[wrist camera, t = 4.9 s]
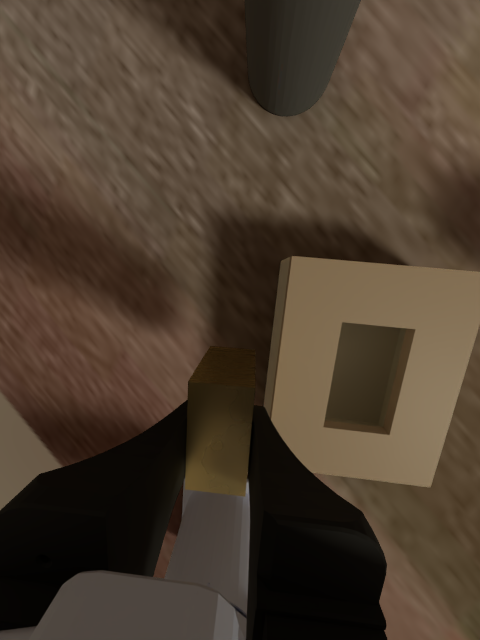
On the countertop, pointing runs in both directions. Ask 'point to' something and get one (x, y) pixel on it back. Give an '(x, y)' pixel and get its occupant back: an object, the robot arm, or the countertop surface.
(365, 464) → the cream box with slot
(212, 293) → the countertop surface
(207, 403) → the block
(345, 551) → the robot arm
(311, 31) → the bottle
